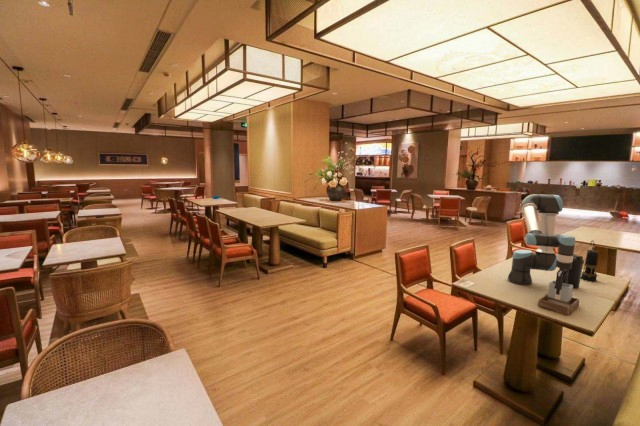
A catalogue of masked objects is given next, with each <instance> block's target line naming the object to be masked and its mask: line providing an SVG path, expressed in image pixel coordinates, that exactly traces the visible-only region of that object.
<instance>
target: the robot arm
mask: <svg viewBox="0 0 640 426" xmlns="http://www.w3.org/2000/svg"><path fill="white" fill-rule="evenodd" d="M563 208H564V205H563V199H562V196H560V195H558V194H545V193H544V194H542V193H541V194H539V193H537V194H535V193H533V194H530V195H527V196H526V197H525V198H523V200H522V201H521V203H520V211H521V212H522V213H523V217H524V220H525V221H524V222H525V226H526V229H527V233H526V234H525V237H524V240H525V241H524V242H525V244H526V245H528V246H534V247H536V246H537V249H535V251H534V252H533V251H532V250H530V249H529V250H528V249H517V250H514V252H513V253H512V258H511V259H512V263H511V270H510V272H509V274H508V276H507V280H508V281H509V282H511V283H513V284H516V285H521V286H529V285H532V283H533V278H532V275H531V270H537V271H538V270H539V271H545V272H553V271H556V269H557V268H559V269H558V270H557V272H556V279H555V281H556V283H555V287H554V288H555V289H556V291H555V299H558V300H560V298H561V291H562V289H561V287H562V283H566V284H567V281H568V272H569V269H571V268H572V262H573V254H575V253H574V251H575V246H576V237H575V236H573V235H567V234H561V233H560V234H555V228H556V217H557V216H558V215H559V213H561V212H562V211H563ZM537 211H538V212H537ZM538 215H540V221H539V216H538ZM554 248H557V253H556V251H554Z"/></svg>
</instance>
